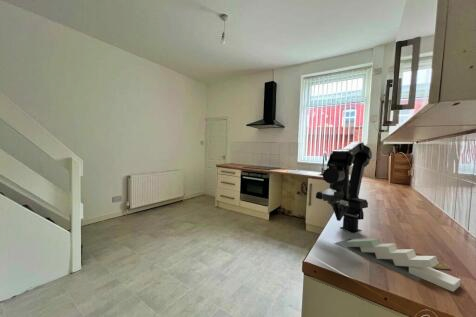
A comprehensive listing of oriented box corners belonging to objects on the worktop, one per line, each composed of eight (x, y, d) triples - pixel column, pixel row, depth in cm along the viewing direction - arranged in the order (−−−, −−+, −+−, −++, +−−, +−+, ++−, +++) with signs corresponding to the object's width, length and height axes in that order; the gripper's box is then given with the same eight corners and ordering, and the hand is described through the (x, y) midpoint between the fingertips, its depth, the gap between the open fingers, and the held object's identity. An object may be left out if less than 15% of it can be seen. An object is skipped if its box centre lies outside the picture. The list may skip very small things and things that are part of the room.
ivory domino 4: (416, 262, 60) (460, 279, 52) (416, 268, 60) (459, 286, 52) (409, 266, 58) (453, 284, 50) (408, 272, 58) (453, 291, 50)
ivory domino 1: (367, 243, 72) (395, 243, 65) (369, 249, 72) (397, 249, 65) (359, 246, 70) (387, 246, 63) (361, 252, 69) (389, 252, 62)
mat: (350, 239, 81) (350, 238, 81) (433, 272, 59) (433, 271, 59) (334, 244, 76) (334, 243, 76) (418, 282, 54) (418, 281, 54)
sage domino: (354, 239, 76) (379, 238, 69) (356, 244, 76) (381, 243, 68) (346, 241, 74) (370, 240, 66) (348, 246, 73) (372, 246, 66)
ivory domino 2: (382, 249, 68) (413, 249, 61) (384, 255, 68) (416, 255, 60) (374, 252, 66) (406, 252, 59) (377, 258, 65) (408, 259, 58)
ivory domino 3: (400, 255, 64) (435, 256, 57) (402, 261, 63) (439, 263, 56) (392, 259, 61) (428, 260, 54) (395, 265, 61) (431, 267, 54)
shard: (401, 253, 72) (401, 248, 72) (424, 254, 71) (425, 249, 71) (425, 270, 61) (425, 264, 61) (453, 272, 60) (454, 266, 60)
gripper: (307, 179, 84) (306, 216, 84) (351, 186, 68) (349, 232, 68) (325, 178, 89) (323, 213, 90) (369, 184, 73) (367, 227, 74)
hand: (338, 220), depth 80 cm, fingers closed
